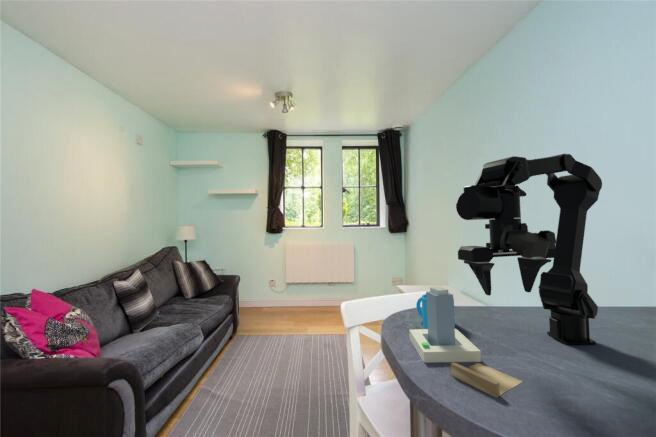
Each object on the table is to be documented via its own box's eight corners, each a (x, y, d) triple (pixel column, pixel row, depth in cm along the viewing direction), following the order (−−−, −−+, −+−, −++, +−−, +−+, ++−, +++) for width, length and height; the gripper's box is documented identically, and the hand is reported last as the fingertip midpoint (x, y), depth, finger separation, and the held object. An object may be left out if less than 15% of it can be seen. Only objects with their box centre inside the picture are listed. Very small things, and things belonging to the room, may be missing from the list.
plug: (445, 348, 64) (442, 285, 65) (455, 356, 60) (452, 289, 61) (428, 350, 64) (425, 287, 64) (438, 358, 60) (435, 291, 60)
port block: (456, 341, 68) (456, 326, 68) (481, 366, 56) (480, 348, 56) (409, 342, 68) (409, 327, 68) (424, 367, 56) (423, 349, 56)
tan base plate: (478, 367, 55) (477, 352, 56) (523, 387, 49) (522, 369, 49) (451, 380, 51) (450, 363, 51) (496, 403, 45) (495, 384, 45)
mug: (462, 329, 75) (460, 298, 75) (439, 335, 72) (437, 302, 72) (428, 316, 86) (426, 289, 86) (406, 321, 83) (405, 293, 83)
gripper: (491, 219, 51) (495, 308, 50) (582, 216, 53) (586, 300, 53) (454, 220, 62) (458, 293, 61) (531, 217, 64) (535, 287, 64)
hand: (508, 293), depth 60 cm, fingers open, 9 cm apart
